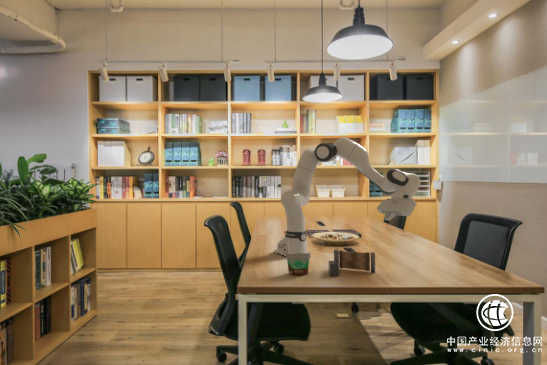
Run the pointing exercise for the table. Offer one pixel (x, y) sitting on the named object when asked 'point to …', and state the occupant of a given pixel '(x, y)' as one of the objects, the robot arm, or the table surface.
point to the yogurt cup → (298, 263)
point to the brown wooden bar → (354, 260)
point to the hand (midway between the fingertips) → (386, 219)
